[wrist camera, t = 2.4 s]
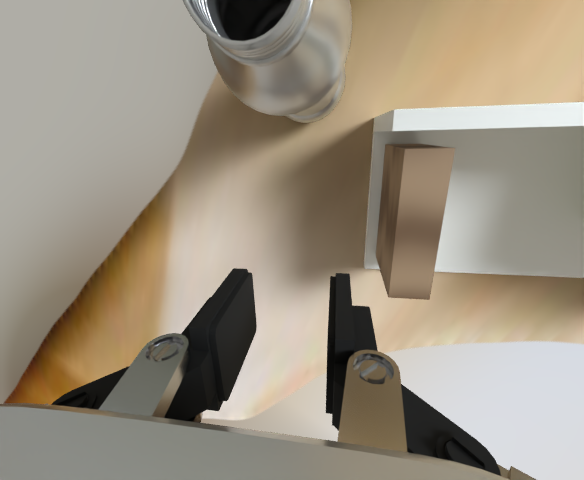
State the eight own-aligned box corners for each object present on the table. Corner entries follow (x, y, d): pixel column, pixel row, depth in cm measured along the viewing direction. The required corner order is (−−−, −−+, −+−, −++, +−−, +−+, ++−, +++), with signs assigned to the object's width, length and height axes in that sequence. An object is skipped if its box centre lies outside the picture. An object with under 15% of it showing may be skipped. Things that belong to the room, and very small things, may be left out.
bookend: (385, 144, 25) (404, 149, 18) (420, 143, 25) (455, 148, 18) (375, 255, 29) (388, 297, 22) (405, 256, 29) (429, 299, 21)
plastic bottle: (338, 30, 24) (340, -314, 5) (350, 114, 26) (381, 72, 8) (266, 53, 25) (76, -161, 7) (283, 131, 27) (174, 129, 9)
